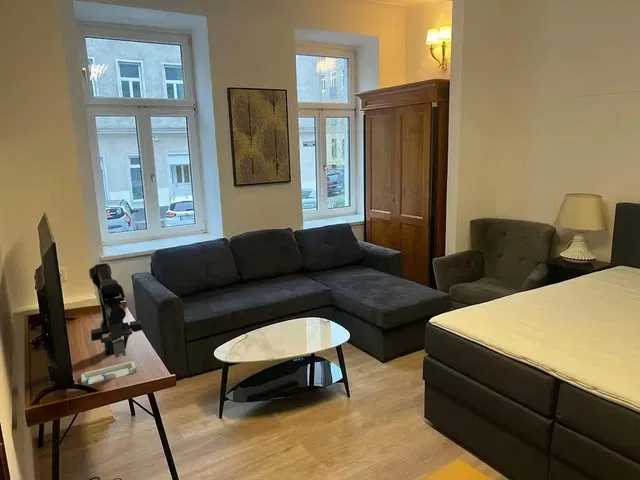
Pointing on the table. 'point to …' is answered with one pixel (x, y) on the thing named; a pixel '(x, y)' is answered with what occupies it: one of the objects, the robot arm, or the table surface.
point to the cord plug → (119, 348)
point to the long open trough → (108, 373)
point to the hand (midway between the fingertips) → (119, 349)
